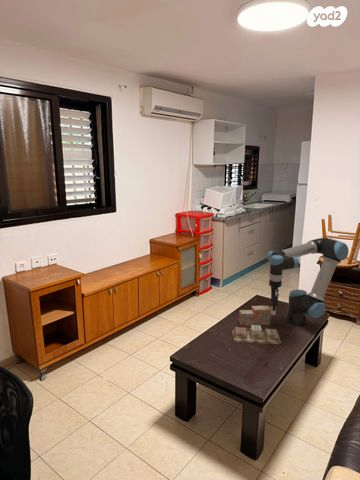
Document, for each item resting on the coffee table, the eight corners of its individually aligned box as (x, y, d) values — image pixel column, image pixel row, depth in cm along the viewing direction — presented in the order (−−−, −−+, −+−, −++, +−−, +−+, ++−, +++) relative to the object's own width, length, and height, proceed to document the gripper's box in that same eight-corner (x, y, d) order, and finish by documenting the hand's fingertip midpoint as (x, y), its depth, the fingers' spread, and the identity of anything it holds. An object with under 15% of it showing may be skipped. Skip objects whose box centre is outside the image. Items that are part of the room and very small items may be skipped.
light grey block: (275, 334, 216) (275, 329, 215) (276, 339, 210) (277, 334, 210) (266, 334, 217) (266, 329, 216) (267, 338, 211) (267, 333, 210)
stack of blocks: (240, 326, 231) (241, 310, 228) (238, 321, 237) (239, 306, 234) (270, 325, 233) (271, 309, 230) (267, 320, 239) (268, 305, 236)
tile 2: (260, 330, 217) (260, 325, 216) (261, 335, 211) (261, 329, 210) (250, 329, 217) (251, 324, 216) (251, 334, 211) (252, 329, 211)
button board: (277, 334, 219) (277, 328, 218) (280, 344, 208) (281, 337, 207) (232, 332, 222) (232, 325, 221) (233, 341, 211) (233, 334, 209)
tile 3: (244, 333, 218) (244, 328, 217) (245, 337, 212) (245, 332, 212) (235, 332, 219) (235, 327, 218) (236, 337, 213) (236, 332, 212)
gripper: (267, 276, 211) (265, 309, 217) (271, 283, 199) (268, 318, 204) (279, 276, 210) (277, 310, 216) (283, 283, 198) (281, 319, 203)
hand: (273, 314), depth 210 cm, fingers closed
